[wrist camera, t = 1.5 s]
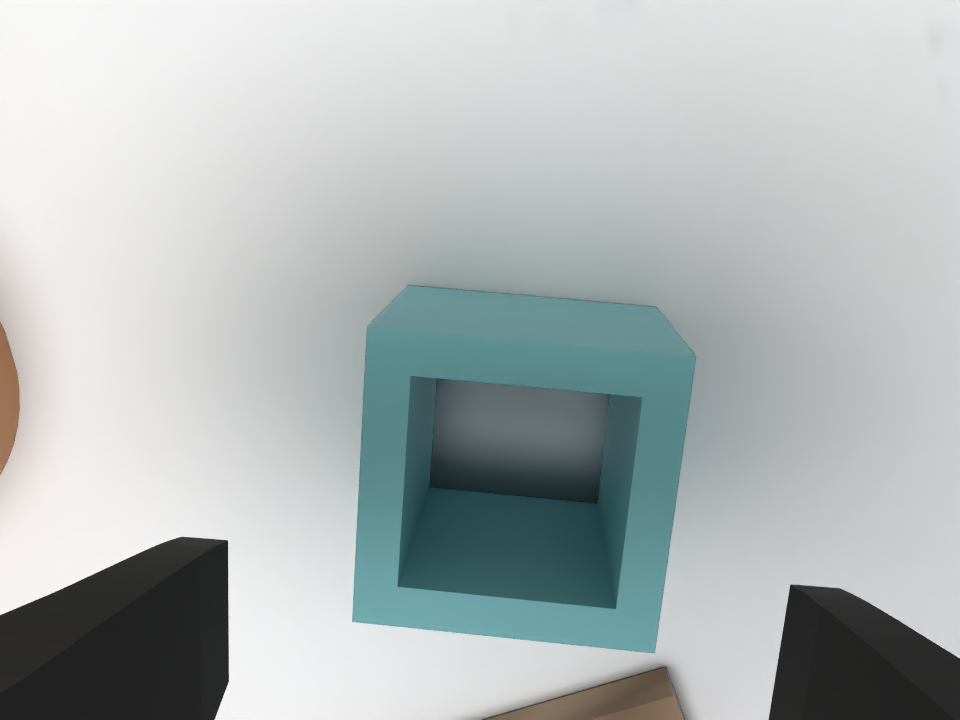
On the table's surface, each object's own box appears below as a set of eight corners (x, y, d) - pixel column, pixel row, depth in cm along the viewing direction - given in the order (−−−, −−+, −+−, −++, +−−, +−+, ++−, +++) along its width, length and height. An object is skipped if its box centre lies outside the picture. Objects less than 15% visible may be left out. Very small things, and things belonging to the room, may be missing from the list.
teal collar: (656, 306, 20) (696, 355, 15) (626, 537, 21) (654, 653, 16) (408, 284, 20) (367, 326, 15) (394, 515, 21) (351, 621, 16)
